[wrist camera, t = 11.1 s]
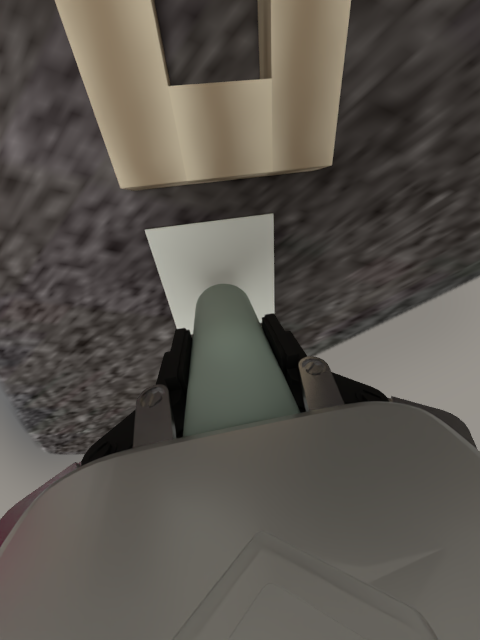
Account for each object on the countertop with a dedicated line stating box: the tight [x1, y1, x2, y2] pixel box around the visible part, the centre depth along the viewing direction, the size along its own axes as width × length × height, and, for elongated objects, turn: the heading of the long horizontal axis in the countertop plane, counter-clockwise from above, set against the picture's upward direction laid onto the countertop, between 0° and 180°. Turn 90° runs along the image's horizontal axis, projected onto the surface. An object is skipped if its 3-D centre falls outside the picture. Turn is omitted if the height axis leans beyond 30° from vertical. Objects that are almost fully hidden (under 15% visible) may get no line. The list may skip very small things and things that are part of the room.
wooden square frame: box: [55, 0, 351, 191], centre depth 12 cm, size 16×16×3 cm
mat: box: [145, 213, 274, 334], centre depth 21 cm, size 12×12×1 cm
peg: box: [183, 284, 300, 437], centre depth 11 cm, size 4×4×11 cm
